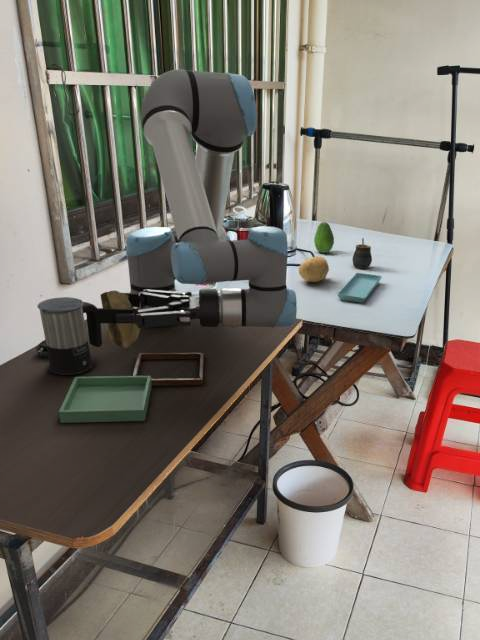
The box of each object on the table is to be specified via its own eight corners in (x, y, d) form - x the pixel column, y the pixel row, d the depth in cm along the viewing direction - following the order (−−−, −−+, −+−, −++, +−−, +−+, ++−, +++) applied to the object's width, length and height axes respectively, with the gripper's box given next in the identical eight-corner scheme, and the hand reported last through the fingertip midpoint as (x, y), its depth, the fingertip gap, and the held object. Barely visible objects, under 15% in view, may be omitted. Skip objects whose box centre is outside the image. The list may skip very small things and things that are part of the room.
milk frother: (79, 378, 127) (69, 312, 120) (12, 369, 129) (-2, 304, 122) (110, 354, 140) (103, 293, 132) (49, 346, 142) (38, 285, 134)
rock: (127, 311, 124) (86, 316, 117) (144, 284, 119) (102, 288, 111) (154, 352, 123) (114, 360, 115) (173, 326, 118) (132, 333, 110)
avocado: (309, 251, 238) (311, 221, 233) (323, 249, 243) (325, 219, 237) (323, 256, 234) (325, 225, 228) (337, 253, 238) (339, 223, 232)
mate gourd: (354, 270, 218) (357, 242, 213) (349, 264, 225) (351, 237, 220) (373, 270, 220) (376, 242, 215) (367, 264, 226) (369, 238, 221)
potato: (333, 278, 207) (334, 255, 203) (320, 288, 196) (322, 264, 192) (307, 274, 210) (308, 251, 206) (293, 284, 198) (294, 260, 194)
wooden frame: (139, 358, 138) (138, 352, 138) (203, 357, 141) (203, 352, 140) (131, 386, 126) (131, 380, 125) (202, 385, 128) (202, 379, 127)
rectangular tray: (364, 304, 184) (365, 296, 182) (336, 300, 186) (337, 292, 184) (381, 283, 206) (382, 275, 204) (356, 279, 208) (356, 272, 206)
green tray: (76, 386, 124) (74, 376, 123) (151, 385, 127) (151, 375, 125) (60, 423, 111) (58, 411, 110) (144, 420, 113) (143, 409, 112)
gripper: (220, 345, 111) (95, 346, 107) (218, 308, 130) (111, 308, 126) (219, 307, 107) (90, 306, 104) (218, 274, 126) (107, 273, 122)
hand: (102, 307), depth 115 cm, fingers closed on rock, 9 cm apart
